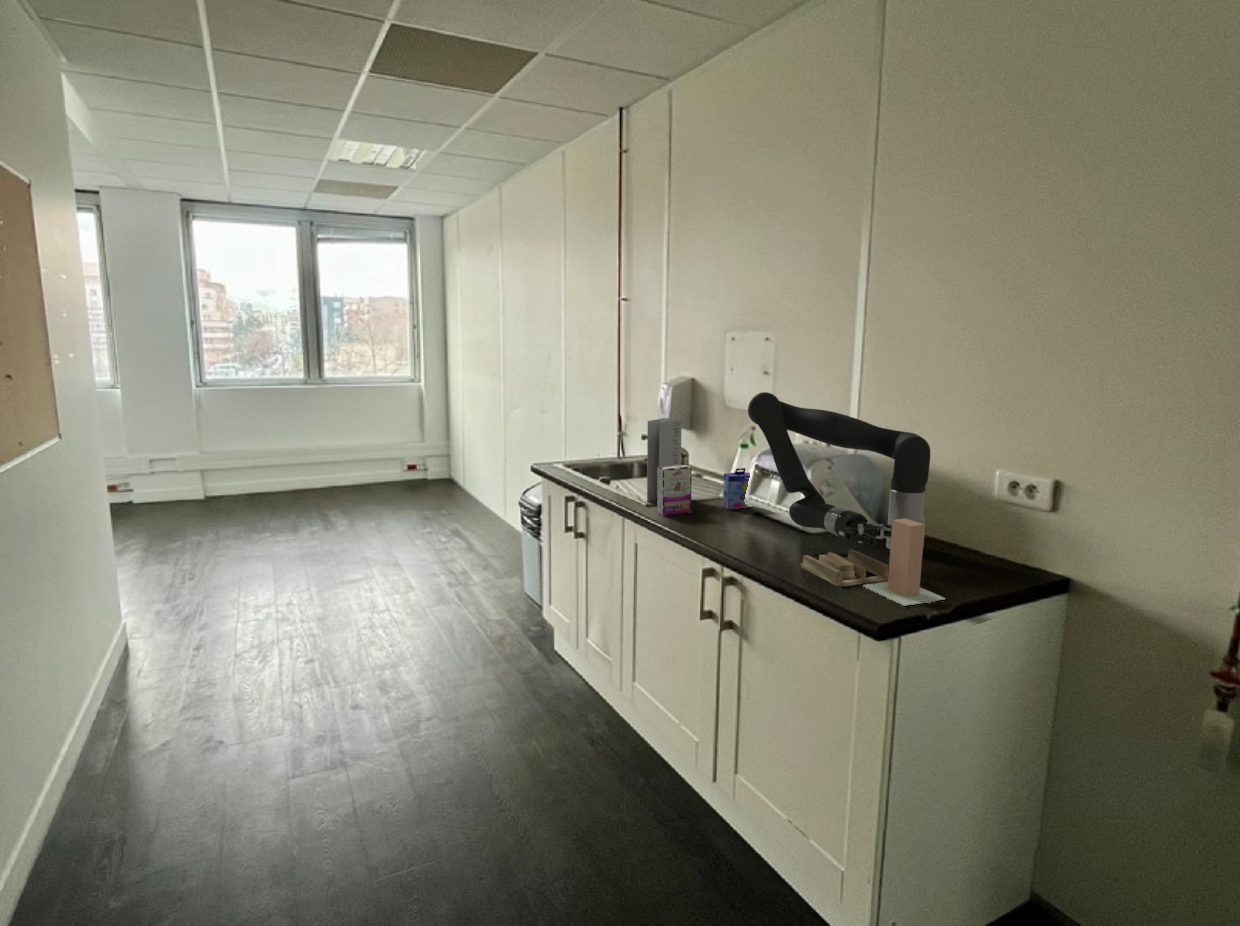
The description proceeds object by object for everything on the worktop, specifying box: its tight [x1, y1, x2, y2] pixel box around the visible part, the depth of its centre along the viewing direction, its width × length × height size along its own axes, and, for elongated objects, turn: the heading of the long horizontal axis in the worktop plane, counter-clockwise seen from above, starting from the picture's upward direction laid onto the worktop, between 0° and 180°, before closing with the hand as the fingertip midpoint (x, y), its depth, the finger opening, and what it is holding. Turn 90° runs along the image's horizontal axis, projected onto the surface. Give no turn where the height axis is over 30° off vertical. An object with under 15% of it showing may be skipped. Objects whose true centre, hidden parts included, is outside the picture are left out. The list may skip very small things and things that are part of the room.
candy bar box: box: [656, 464, 692, 517], centre depth 242 cm, size 11×5×16 cm, turn 114°
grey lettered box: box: [646, 417, 683, 503], centre depth 261 cm, size 14×6×30 cm, turn 143°
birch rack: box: [799, 549, 889, 588], centre depth 182 cm, size 16×16×4 cm
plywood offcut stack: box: [818, 554, 856, 581], centre depth 180 cm, size 4×11×4 cm, turn 16°
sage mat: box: [862, 580, 946, 607], centre depth 167 cm, size 12×14×1 cm
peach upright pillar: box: [887, 518, 926, 597], centre depth 166 cm, size 4×6×17 cm, turn 21°
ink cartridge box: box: [722, 467, 751, 510], centre depth 250 cm, size 10×6×14 cm, turn 104°
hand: (888, 540), depth 171 cm, fingers open, 8 cm apart
